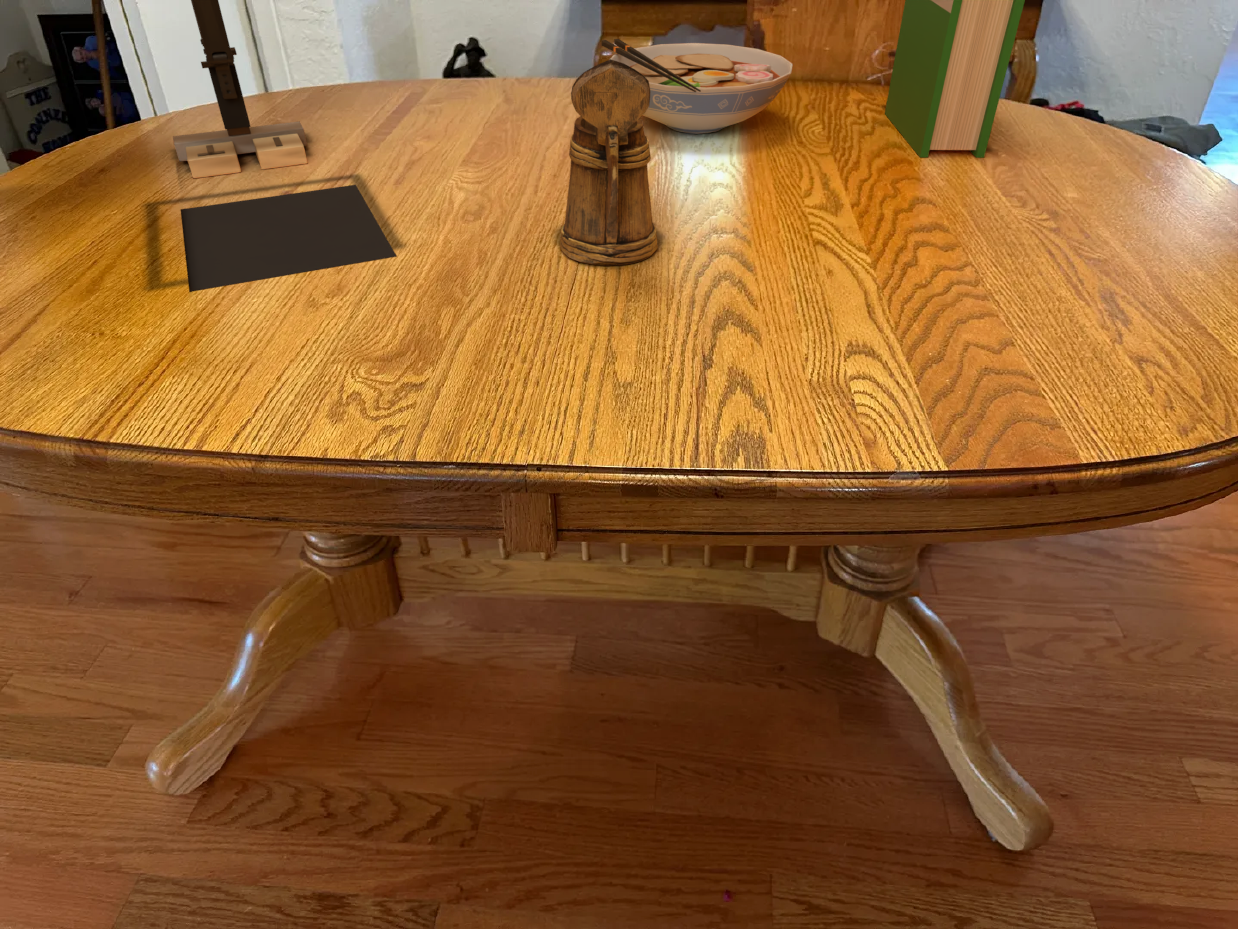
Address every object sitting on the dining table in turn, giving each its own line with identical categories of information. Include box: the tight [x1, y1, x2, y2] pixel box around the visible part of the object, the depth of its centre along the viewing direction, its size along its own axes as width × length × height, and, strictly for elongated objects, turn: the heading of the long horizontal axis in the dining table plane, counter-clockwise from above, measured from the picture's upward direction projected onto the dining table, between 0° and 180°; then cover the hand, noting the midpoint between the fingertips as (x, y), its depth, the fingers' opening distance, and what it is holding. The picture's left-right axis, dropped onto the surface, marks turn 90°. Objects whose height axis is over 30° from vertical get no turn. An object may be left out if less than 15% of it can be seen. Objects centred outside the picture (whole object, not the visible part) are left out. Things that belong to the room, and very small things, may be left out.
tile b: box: [253, 134, 308, 170], centre depth 97 cm, size 5×5×2 cm
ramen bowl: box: [600, 38, 794, 135], centre depth 106 cm, size 25×23×8 cm
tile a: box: [186, 141, 242, 179], centre depth 95 cm, size 5×5×2 cm
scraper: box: [172, 120, 308, 162], centre depth 96 cm, size 3×14×12 cm, turn 114°
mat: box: [180, 184, 398, 293], centre depth 81 cm, size 20×20×1 cm
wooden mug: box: [559, 58, 658, 267], centre depth 72 cm, size 9×14×18 cm, turn 2°
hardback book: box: [884, 0, 1026, 159], centre depth 98 cm, size 18×7×24 cm, turn 179°
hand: (236, 122), depth 97 cm, fingers closed on scraper, 2 cm apart
